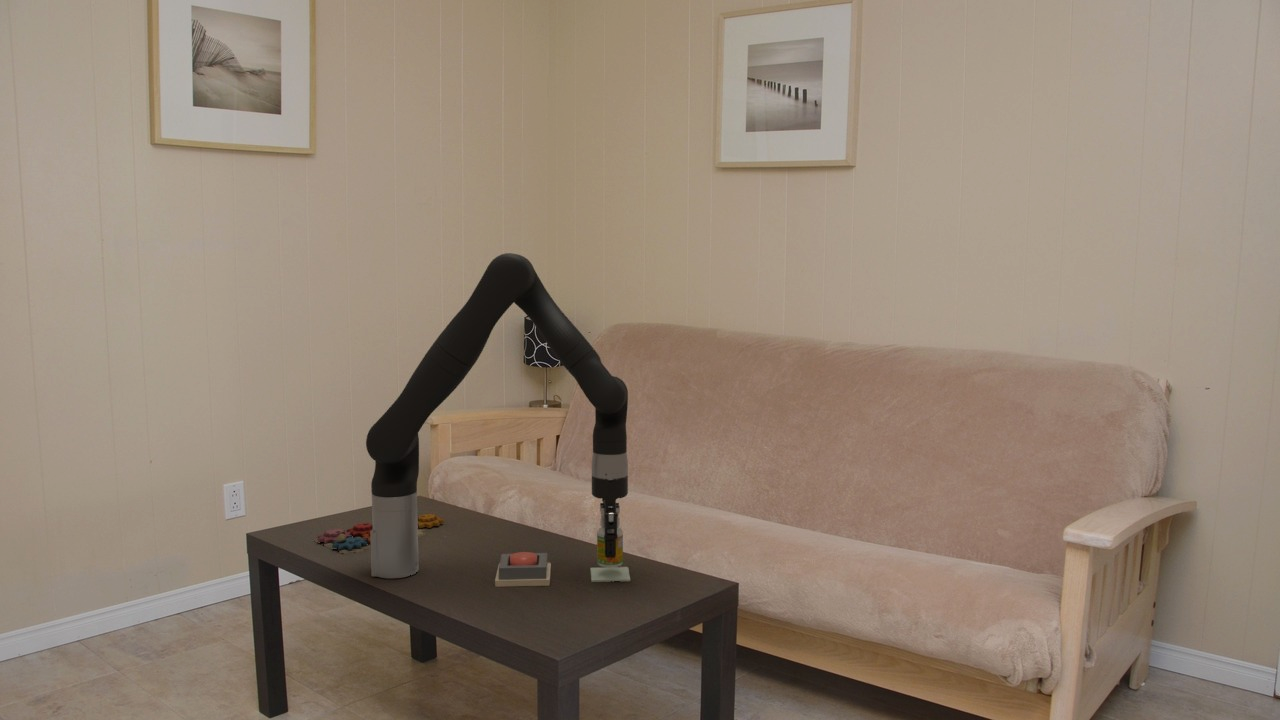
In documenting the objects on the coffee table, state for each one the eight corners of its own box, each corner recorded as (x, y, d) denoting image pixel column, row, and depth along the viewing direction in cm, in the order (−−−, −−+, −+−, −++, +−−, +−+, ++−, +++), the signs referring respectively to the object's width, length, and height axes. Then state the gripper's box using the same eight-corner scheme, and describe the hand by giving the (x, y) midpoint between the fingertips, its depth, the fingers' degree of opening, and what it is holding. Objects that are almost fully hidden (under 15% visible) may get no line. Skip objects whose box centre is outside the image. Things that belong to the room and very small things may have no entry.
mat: (591, 582, 197) (591, 580, 197) (590, 569, 205) (590, 567, 205) (630, 581, 197) (630, 579, 197) (627, 568, 205) (627, 567, 205)
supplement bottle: (592, 566, 199) (592, 520, 198) (603, 558, 204) (603, 514, 203) (616, 569, 197) (616, 523, 196) (626, 561, 202) (626, 516, 201)
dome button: (509, 574, 197) (509, 560, 196) (510, 566, 202) (510, 552, 202) (536, 574, 197) (536, 559, 197) (537, 565, 203) (537, 551, 202)
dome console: (495, 586, 194) (494, 569, 194) (499, 569, 205) (498, 552, 204) (549, 585, 195) (549, 568, 194) (550, 568, 206) (550, 551, 205)
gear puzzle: (426, 518, 247) (426, 503, 246) (462, 531, 235) (461, 515, 235) (311, 543, 225) (310, 526, 225) (344, 558, 214) (343, 540, 213)
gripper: (590, 466, 206) (591, 542, 207) (592, 481, 191) (592, 563, 193) (625, 465, 206) (625, 542, 208) (630, 480, 192) (629, 563, 194)
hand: (609, 552), depth 201 cm, fingers closed on supplement bottle, 5 cm apart
